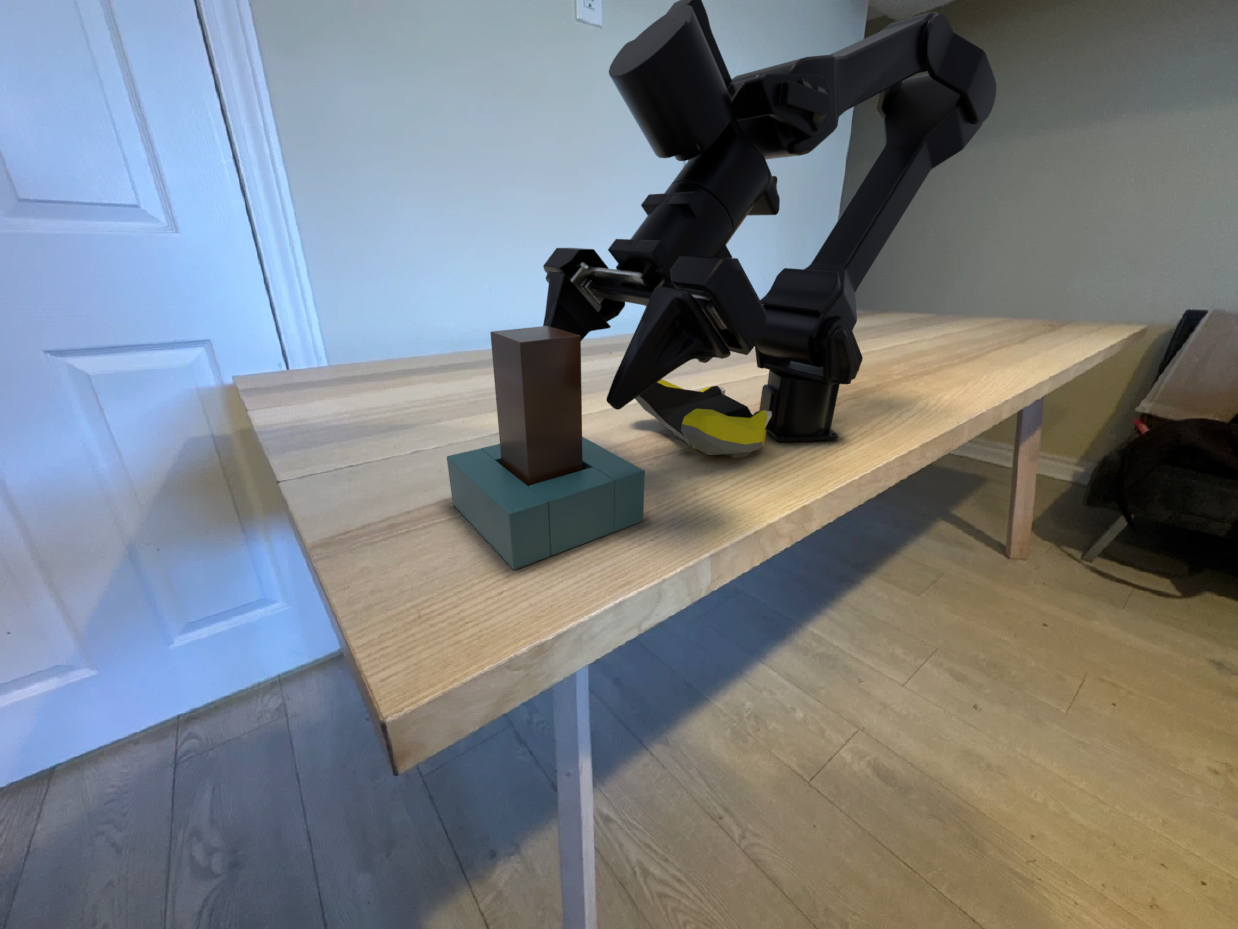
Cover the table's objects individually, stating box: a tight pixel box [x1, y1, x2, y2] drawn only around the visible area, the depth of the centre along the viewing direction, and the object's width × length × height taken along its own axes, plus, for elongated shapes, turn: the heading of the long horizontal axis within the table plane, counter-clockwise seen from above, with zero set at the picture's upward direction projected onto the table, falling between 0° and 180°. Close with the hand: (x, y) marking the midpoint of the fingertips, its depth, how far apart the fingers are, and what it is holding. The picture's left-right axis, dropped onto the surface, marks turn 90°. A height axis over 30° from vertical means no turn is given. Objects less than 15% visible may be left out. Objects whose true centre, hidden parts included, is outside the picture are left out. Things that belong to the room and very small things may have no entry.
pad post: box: [489, 325, 583, 486], centre depth 35 cm, size 4×4×13 cm
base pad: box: [446, 436, 646, 571], centre depth 37 cm, size 10×10×4 cm
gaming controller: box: [634, 378, 772, 459], centre depth 50 cm, size 15×6×10 cm
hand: (572, 388), depth 36 cm, fingers open, 9 cm apart
